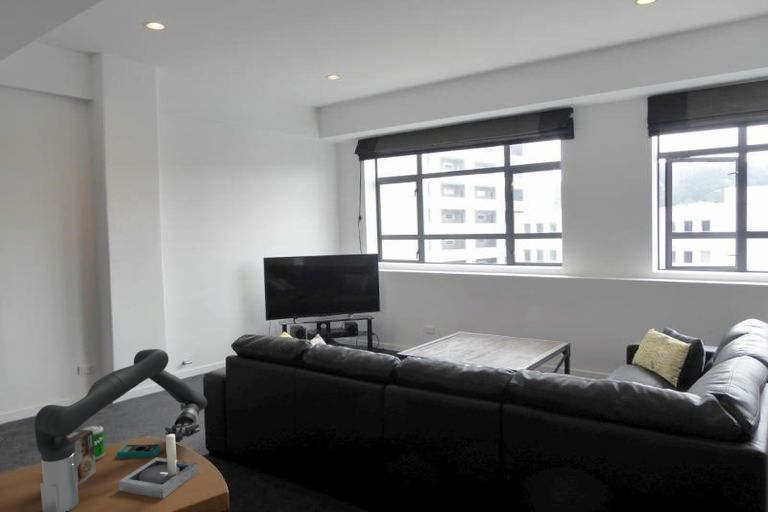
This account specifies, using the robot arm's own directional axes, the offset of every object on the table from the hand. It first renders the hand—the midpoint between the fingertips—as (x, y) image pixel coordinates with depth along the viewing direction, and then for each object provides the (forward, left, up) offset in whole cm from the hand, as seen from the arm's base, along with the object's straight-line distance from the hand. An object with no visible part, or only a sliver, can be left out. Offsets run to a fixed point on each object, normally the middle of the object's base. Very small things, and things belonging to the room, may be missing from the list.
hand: (177, 439), depth 195 cm
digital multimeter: (+7, +24, -12) cm, 28 cm away
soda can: (-1, +38, -12) cm, 40 cm away
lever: (-9, +1, -11) cm, 15 cm away
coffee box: (-15, +30, -12) cm, 36 cm away
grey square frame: (-9, +1, -11) cm, 15 cm away
